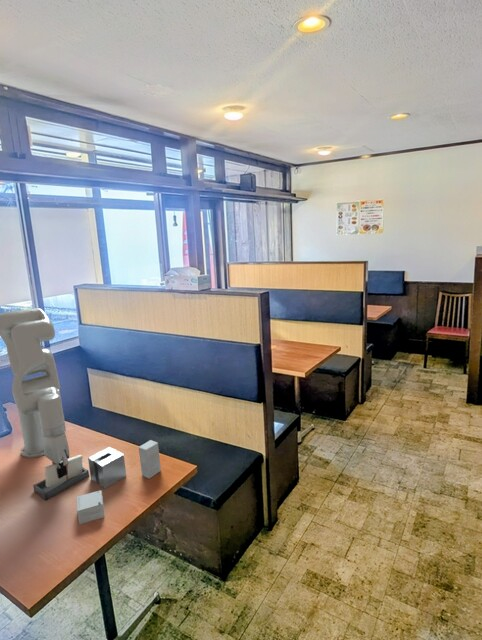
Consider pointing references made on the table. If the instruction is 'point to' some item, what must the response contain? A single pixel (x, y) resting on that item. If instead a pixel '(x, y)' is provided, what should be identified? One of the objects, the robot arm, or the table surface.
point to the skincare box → (149, 459)
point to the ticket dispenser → (107, 467)
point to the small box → (90, 507)
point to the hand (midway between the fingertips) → (61, 474)
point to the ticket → (72, 471)
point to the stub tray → (58, 485)
